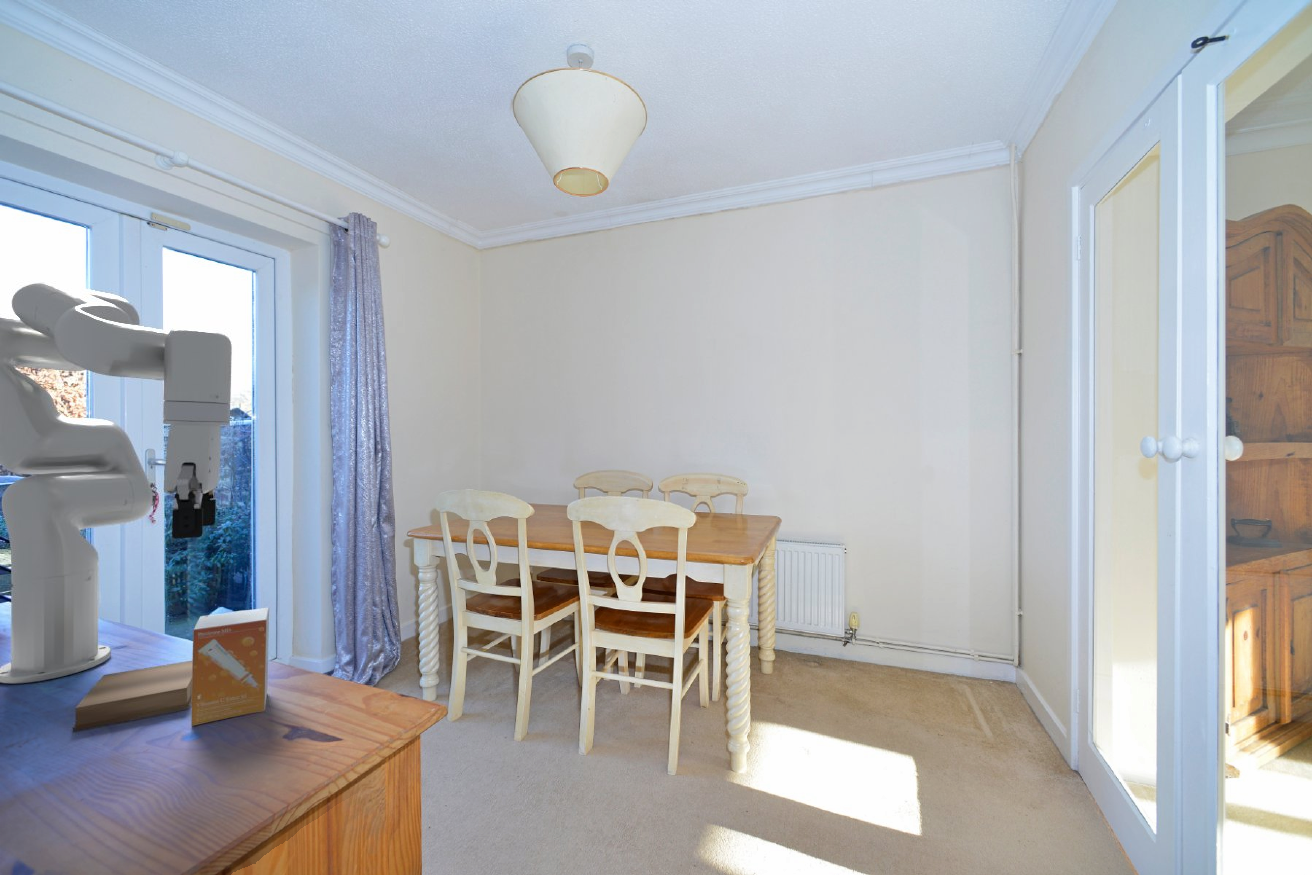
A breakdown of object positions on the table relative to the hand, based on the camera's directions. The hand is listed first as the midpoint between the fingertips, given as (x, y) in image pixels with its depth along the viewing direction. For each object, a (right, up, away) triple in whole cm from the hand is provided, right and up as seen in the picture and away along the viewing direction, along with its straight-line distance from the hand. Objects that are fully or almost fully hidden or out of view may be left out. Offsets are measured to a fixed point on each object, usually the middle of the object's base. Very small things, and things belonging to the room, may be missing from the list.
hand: (194, 531), depth 79 cm
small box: (+8, -25, -4) cm, 26 cm away
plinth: (-5, -24, -2) cm, 25 cm away
